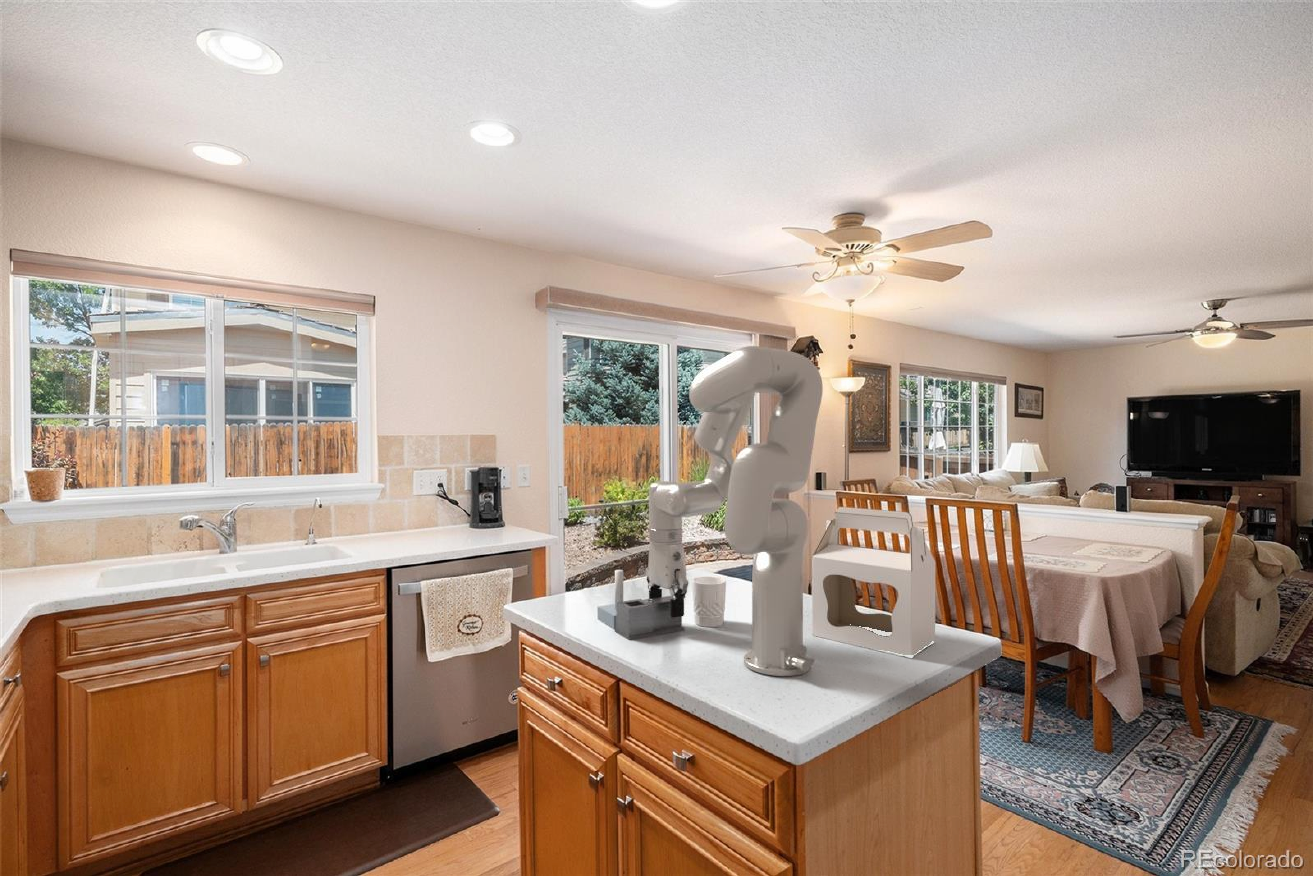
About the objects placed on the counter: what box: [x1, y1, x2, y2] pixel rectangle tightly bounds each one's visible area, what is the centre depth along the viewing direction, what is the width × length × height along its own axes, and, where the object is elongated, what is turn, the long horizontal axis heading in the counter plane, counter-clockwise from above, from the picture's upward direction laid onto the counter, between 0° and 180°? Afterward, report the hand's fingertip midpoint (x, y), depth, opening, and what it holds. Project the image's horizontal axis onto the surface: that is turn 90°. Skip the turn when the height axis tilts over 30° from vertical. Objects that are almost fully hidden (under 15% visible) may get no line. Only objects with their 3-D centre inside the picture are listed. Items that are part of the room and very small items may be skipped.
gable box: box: [811, 506, 936, 655], centre depth 136 cm, size 22×13×28 cm, turn 47°
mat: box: [614, 625, 686, 641], centre depth 142 cm, size 7×14×1 cm, turn 119°
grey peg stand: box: [597, 569, 624, 630], centre depth 150 cm, size 12×9×12 cm
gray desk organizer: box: [616, 595, 683, 636], centre depth 142 cm, size 14×6×6 cm, turn 120°
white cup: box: [691, 576, 727, 628], centre depth 148 cm, size 8×8×10 cm
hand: (666, 611), depth 144 cm, fingers open, 9 cm apart
